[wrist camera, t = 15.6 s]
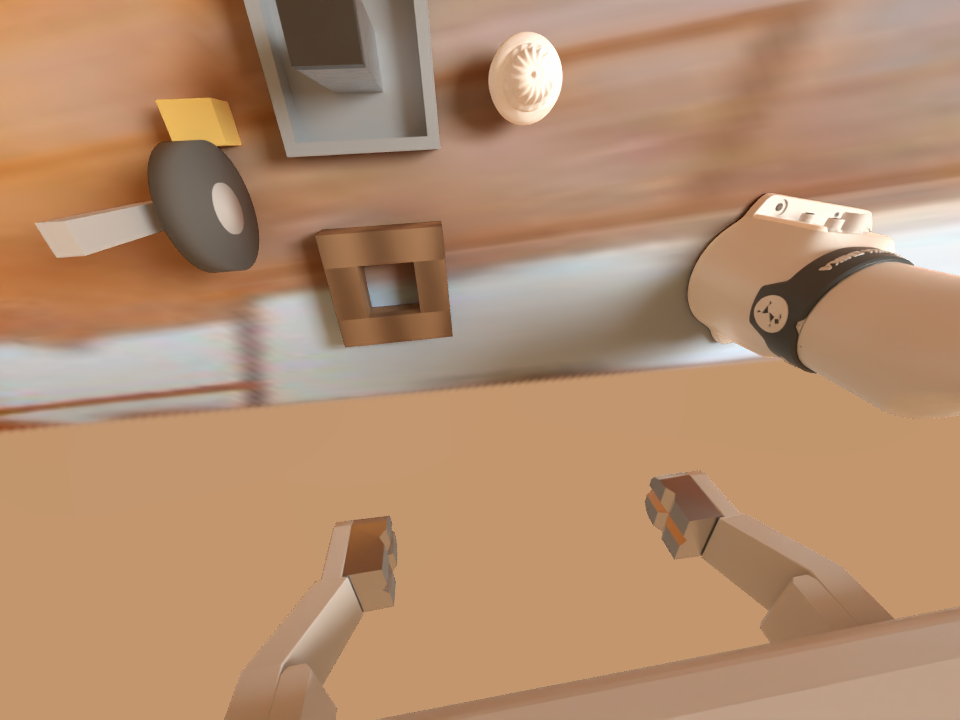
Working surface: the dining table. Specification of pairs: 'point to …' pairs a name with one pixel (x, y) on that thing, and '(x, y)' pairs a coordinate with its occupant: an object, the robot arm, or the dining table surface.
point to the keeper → (376, 247)
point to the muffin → (525, 78)
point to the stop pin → (332, 43)
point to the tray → (355, 116)
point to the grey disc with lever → (178, 197)
